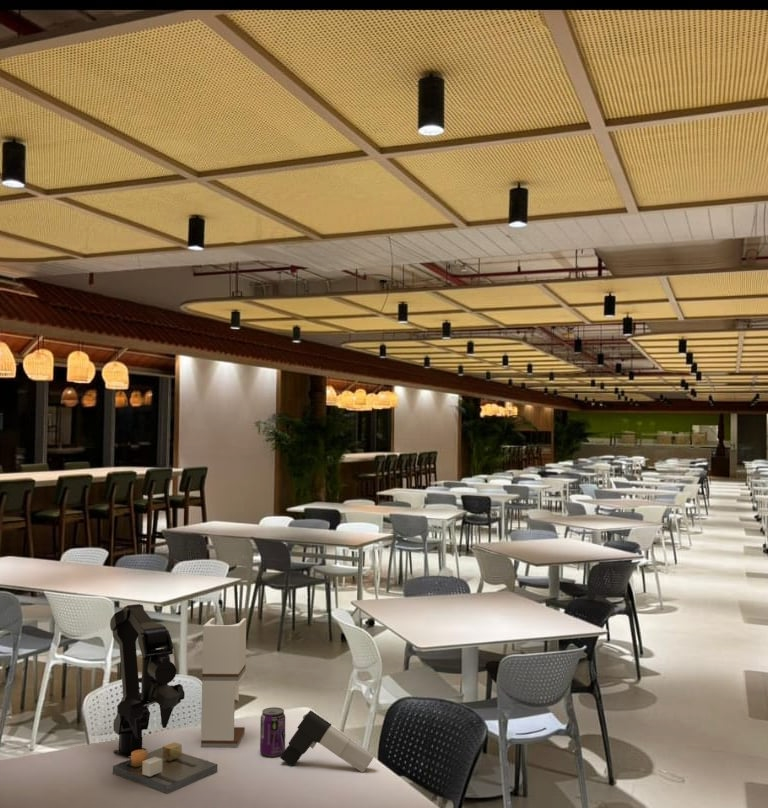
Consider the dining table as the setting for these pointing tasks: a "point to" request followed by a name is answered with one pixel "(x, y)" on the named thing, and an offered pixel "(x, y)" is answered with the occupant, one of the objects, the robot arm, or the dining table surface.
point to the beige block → (152, 766)
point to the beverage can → (272, 731)
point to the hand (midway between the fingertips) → (150, 732)
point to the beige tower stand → (222, 683)
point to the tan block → (172, 751)
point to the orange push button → (138, 757)
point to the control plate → (168, 772)
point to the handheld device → (325, 742)
